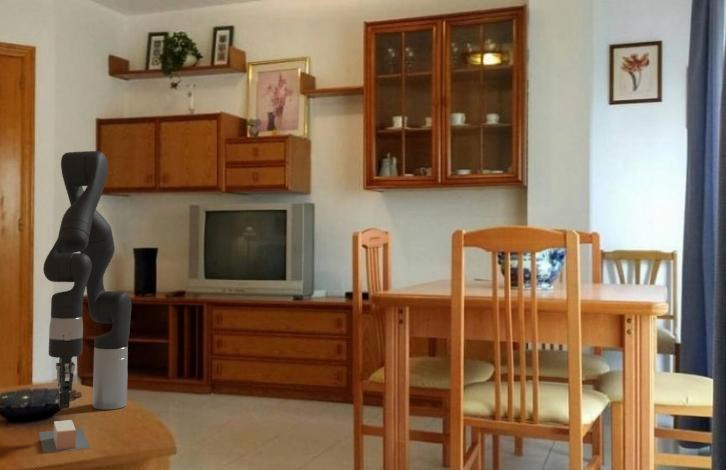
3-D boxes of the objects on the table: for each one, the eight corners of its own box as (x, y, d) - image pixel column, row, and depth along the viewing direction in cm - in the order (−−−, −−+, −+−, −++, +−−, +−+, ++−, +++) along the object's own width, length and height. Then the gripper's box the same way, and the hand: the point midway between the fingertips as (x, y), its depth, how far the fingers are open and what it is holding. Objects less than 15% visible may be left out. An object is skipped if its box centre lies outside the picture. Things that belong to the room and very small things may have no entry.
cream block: (54, 421, 170) (57, 432, 161) (71, 419, 172) (76, 430, 163) (53, 438, 170) (56, 449, 161) (71, 436, 172) (75, 447, 163)
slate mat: (38, 434, 175) (38, 432, 175) (81, 430, 179) (81, 428, 179) (43, 455, 159) (43, 453, 159) (90, 450, 163) (90, 448, 163)
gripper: (47, 332, 174) (45, 402, 174) (51, 340, 162) (49, 415, 162) (79, 331, 177) (77, 400, 177) (85, 339, 166) (83, 412, 166)
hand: (64, 407), depth 170 cm, fingers closed
